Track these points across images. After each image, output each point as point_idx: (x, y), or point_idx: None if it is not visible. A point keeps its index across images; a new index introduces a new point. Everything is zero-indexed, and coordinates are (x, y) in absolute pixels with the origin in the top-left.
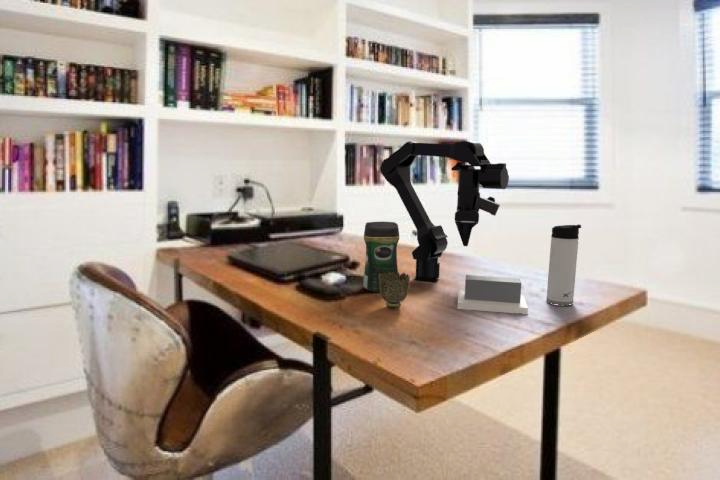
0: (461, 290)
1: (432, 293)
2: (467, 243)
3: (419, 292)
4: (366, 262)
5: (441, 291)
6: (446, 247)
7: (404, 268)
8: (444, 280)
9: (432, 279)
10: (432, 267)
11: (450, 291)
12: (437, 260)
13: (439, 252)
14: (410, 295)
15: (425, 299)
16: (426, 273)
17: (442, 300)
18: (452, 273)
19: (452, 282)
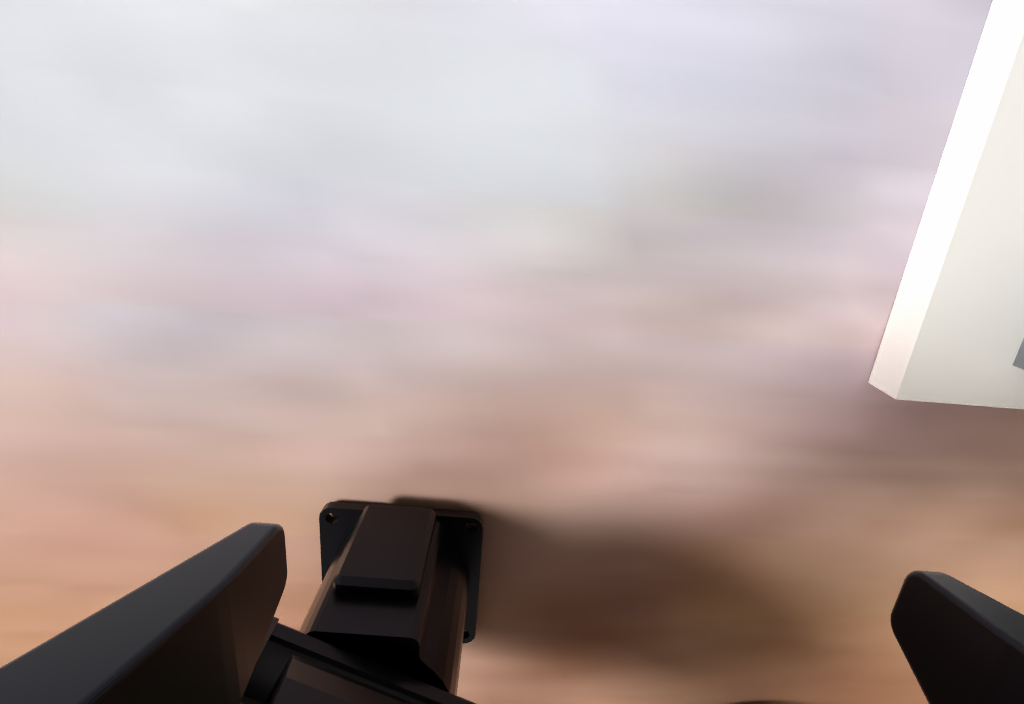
0: (904, 383)
1: (803, 535)
2: (999, 616)
3: (780, 601)
4: None
5: (749, 485)
6: (289, 679)
7: None
8: (424, 459)
9: (480, 544)
10: (443, 612)
11: (746, 430)
12: (412, 630)
13: (383, 692)
14: (850, 641)
15: (943, 571)
16: (464, 610)
17: (974, 484)
18: (158, 395)
19: (474, 407)
